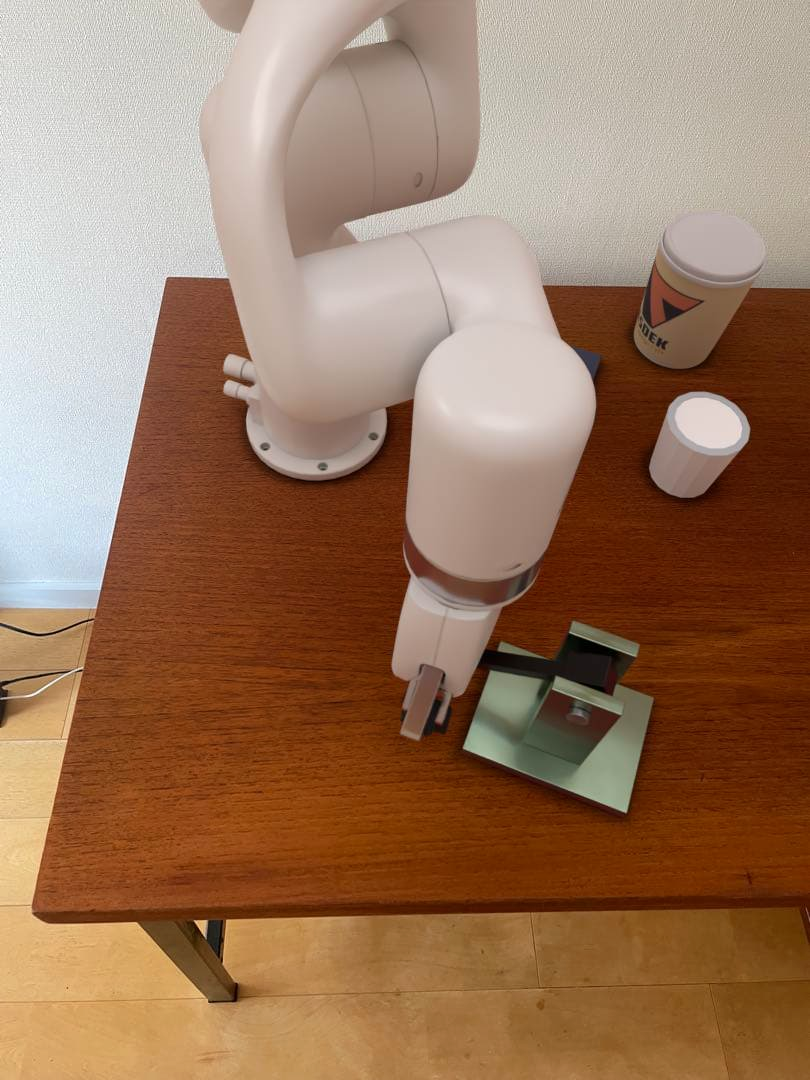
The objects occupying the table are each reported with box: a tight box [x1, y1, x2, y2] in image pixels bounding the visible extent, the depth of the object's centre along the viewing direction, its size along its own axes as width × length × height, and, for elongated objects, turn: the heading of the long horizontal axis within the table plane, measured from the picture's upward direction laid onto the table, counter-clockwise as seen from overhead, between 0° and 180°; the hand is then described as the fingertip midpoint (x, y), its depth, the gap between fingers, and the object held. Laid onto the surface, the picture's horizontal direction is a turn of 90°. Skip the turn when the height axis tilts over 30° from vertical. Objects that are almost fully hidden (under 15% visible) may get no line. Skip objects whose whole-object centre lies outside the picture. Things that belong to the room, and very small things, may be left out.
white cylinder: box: [648, 391, 751, 499], centre depth 69 cm, size 7×7×7 cm
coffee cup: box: [633, 209, 767, 370], centre depth 75 cm, size 9×9×12 cm
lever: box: [436, 648, 618, 698], centre depth 53 cm, size 12×6×2 cm, turn 69°
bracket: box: [460, 619, 655, 818], centre depth 54 cm, size 12×9×12 cm
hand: (447, 663), depth 57 cm, fingers open, 8 cm apart
